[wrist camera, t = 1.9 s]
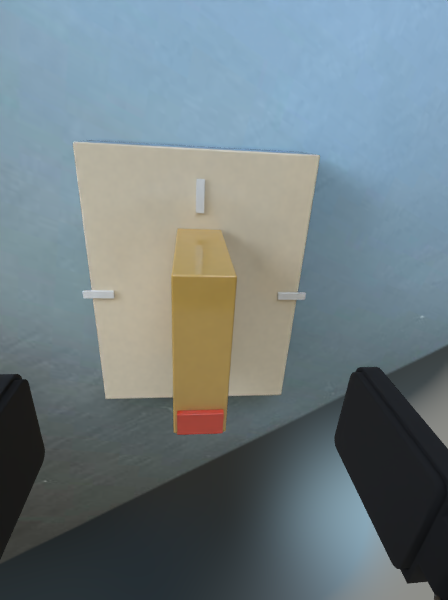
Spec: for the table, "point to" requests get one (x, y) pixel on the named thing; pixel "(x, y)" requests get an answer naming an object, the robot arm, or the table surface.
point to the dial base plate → (161, 242)
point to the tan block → (201, 330)
